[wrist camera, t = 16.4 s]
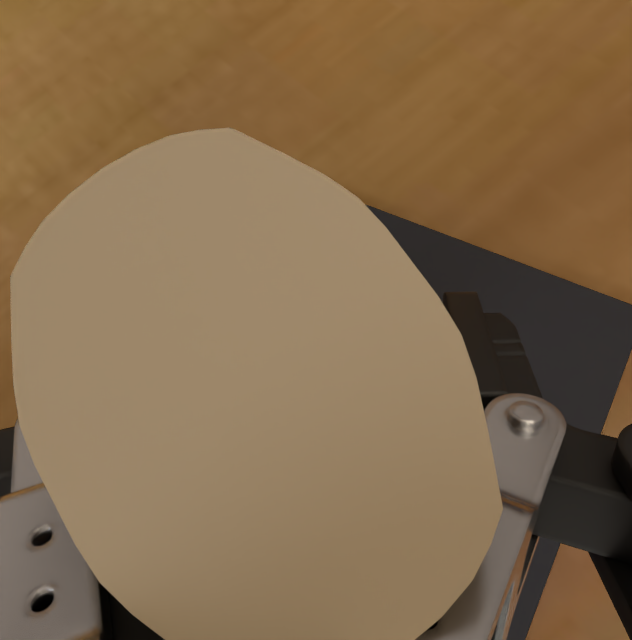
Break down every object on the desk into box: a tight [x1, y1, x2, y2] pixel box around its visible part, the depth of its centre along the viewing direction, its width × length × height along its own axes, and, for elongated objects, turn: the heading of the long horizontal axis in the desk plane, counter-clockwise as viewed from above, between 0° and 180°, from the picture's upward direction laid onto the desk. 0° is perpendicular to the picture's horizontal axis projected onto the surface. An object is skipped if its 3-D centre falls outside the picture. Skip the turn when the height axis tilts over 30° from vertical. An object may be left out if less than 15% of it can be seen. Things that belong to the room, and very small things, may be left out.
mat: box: [365, 204, 632, 640], centre depth 21 cm, size 20×18×1 cm
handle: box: [10, 128, 503, 640], centre depth 14 cm, size 5×6×15 cm
